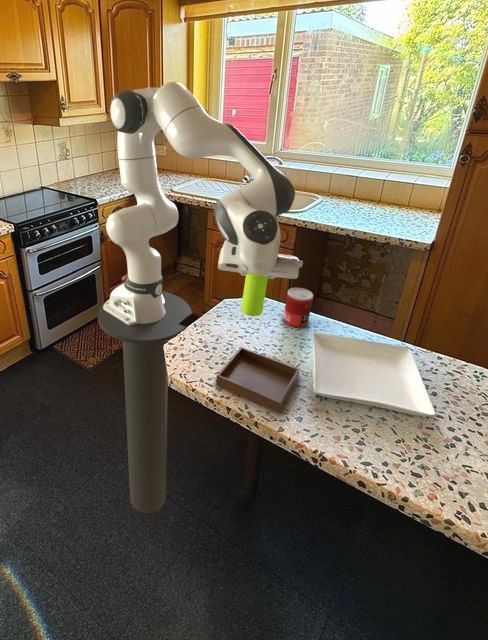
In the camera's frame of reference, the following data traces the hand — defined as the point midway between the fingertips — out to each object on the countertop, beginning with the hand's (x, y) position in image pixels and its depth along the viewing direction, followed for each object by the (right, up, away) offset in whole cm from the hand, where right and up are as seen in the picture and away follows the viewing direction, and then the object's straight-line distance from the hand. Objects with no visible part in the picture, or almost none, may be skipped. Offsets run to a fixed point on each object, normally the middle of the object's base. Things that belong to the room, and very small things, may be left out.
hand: (257, 274), depth 108 cm
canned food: (+19, -16, +26) cm, 36 cm away
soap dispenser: (0, -11, +4) cm, 12 cm away
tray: (0, -29, -1) cm, 29 cm away
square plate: (+29, -28, +1) cm, 41 cm away
